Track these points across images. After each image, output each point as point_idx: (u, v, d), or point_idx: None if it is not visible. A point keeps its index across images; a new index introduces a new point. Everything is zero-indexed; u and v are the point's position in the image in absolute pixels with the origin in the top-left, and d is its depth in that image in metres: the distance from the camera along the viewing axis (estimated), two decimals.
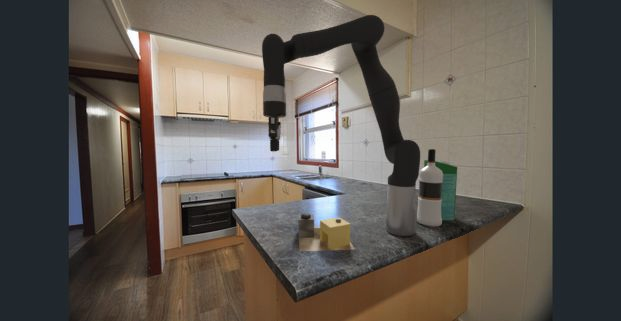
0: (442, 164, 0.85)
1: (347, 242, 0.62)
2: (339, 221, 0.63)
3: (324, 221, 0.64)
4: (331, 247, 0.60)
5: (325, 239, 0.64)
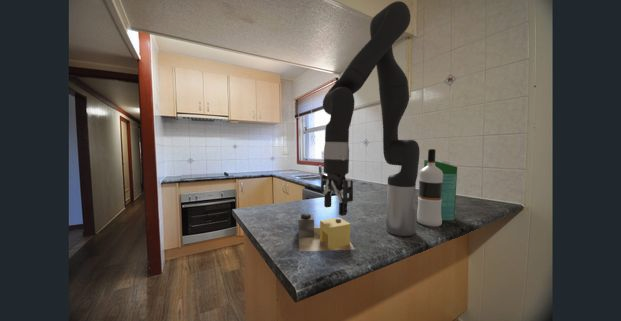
0: (442, 164, 0.85)
1: (347, 242, 0.62)
2: (339, 221, 0.63)
3: (324, 221, 0.64)
4: (331, 247, 0.60)
5: (325, 239, 0.64)
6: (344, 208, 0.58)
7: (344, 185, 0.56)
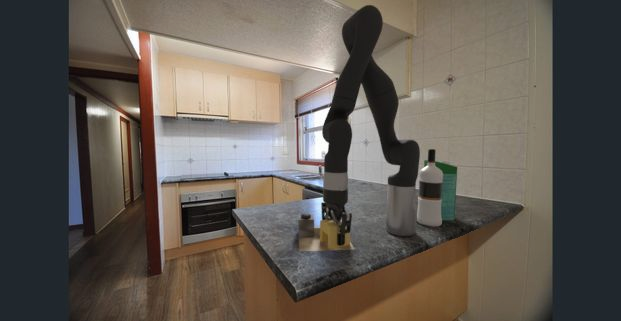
0: (442, 164, 0.85)
1: (347, 242, 0.62)
2: (339, 221, 0.63)
3: (324, 221, 0.64)
4: (331, 247, 0.60)
5: (325, 239, 0.64)
6: (342, 239, 0.59)
7: (343, 218, 0.57)
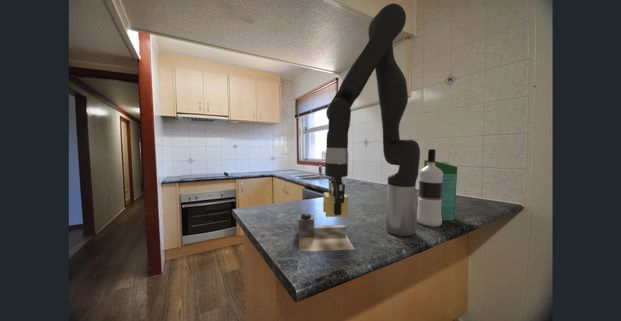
0: (442, 164, 0.85)
1: (344, 213, 0.67)
2: None
3: (326, 193, 0.71)
4: (327, 215, 0.66)
5: None
6: (337, 208, 0.65)
7: (336, 188, 0.62)
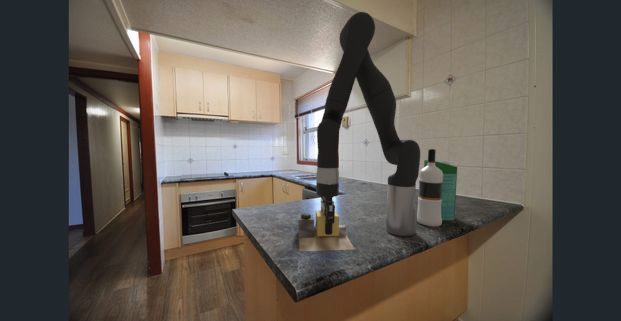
0: (442, 164, 0.85)
1: (336, 233, 0.67)
2: None
3: (318, 211, 0.71)
4: (319, 234, 0.67)
5: None
6: (328, 228, 0.66)
7: (326, 209, 0.63)
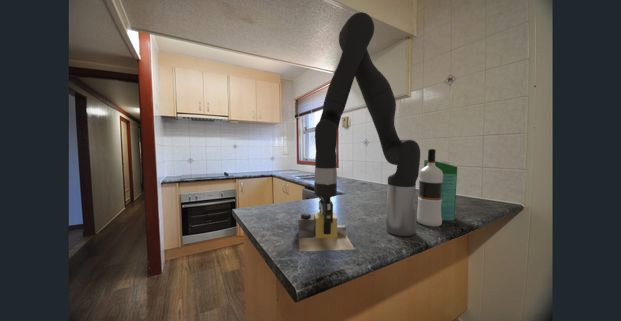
0: (442, 164, 0.85)
1: (334, 234, 0.67)
2: None
3: (316, 213, 0.71)
4: (317, 236, 0.67)
5: None
6: (327, 228, 0.65)
7: (324, 208, 0.63)
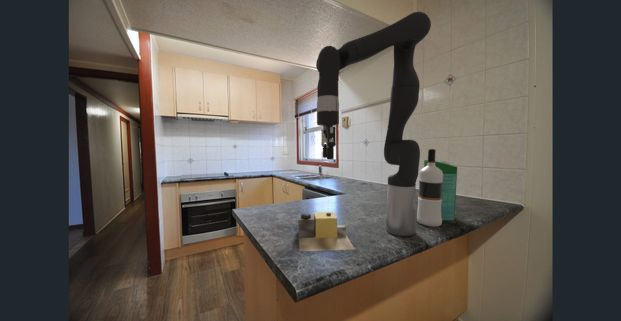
0: (442, 164, 0.85)
1: (334, 234, 0.67)
2: (328, 214, 0.69)
3: (316, 213, 0.71)
4: (317, 236, 0.67)
5: None
6: (330, 152, 0.67)
7: (327, 131, 0.65)
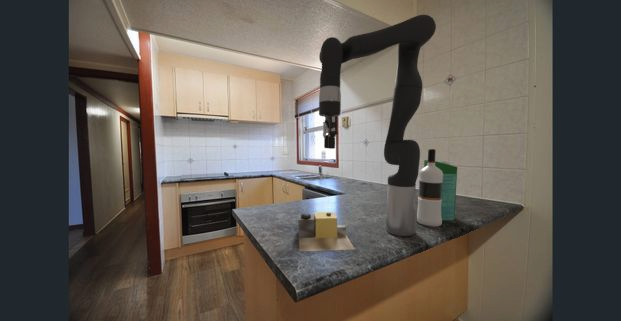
0: (442, 164, 0.85)
1: (334, 234, 0.67)
2: (328, 214, 0.69)
3: (316, 213, 0.71)
4: (317, 236, 0.67)
5: None
6: (331, 141, 0.68)
7: (329, 120, 0.66)
